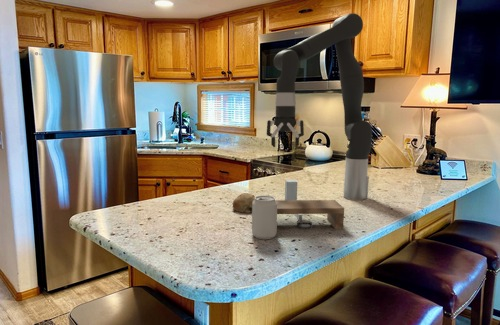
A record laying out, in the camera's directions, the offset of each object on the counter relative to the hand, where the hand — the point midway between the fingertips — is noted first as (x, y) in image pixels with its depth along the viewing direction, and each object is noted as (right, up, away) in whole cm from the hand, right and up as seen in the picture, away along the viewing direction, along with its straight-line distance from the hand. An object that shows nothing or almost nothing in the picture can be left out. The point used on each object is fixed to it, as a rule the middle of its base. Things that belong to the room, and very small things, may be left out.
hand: (285, 147), depth 143 cm
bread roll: (-15, -24, -3) cm, 29 cm away
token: (+4, -27, -23) cm, 36 cm away
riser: (+4, -27, -21) cm, 34 cm away
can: (-9, -28, -32) cm, 44 cm away
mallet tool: (+3, -24, -7) cm, 25 cm away
